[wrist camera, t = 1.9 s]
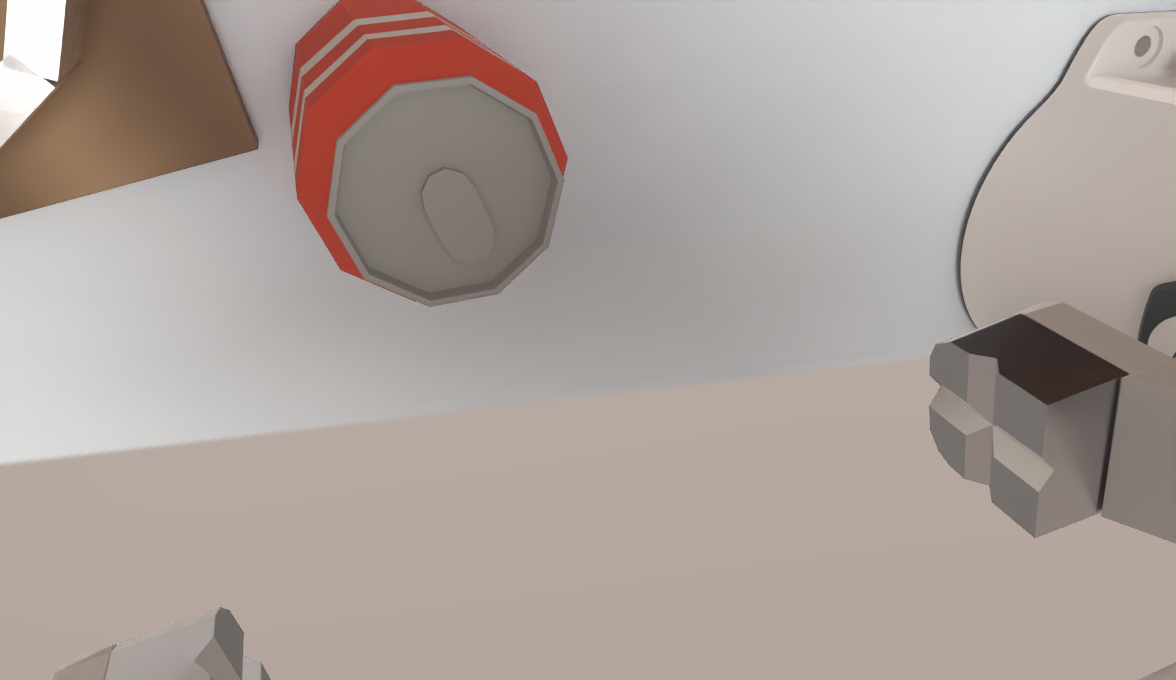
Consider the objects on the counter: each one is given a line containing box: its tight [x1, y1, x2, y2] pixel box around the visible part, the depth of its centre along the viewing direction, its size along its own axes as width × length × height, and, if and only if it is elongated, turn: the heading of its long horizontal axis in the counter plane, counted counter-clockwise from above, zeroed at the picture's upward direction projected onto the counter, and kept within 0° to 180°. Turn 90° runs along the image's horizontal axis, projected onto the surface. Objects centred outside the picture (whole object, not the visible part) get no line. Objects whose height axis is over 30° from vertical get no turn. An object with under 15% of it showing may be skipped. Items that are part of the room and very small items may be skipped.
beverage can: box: [289, 0, 568, 307], centre depth 24 cm, size 6×6×12 cm
